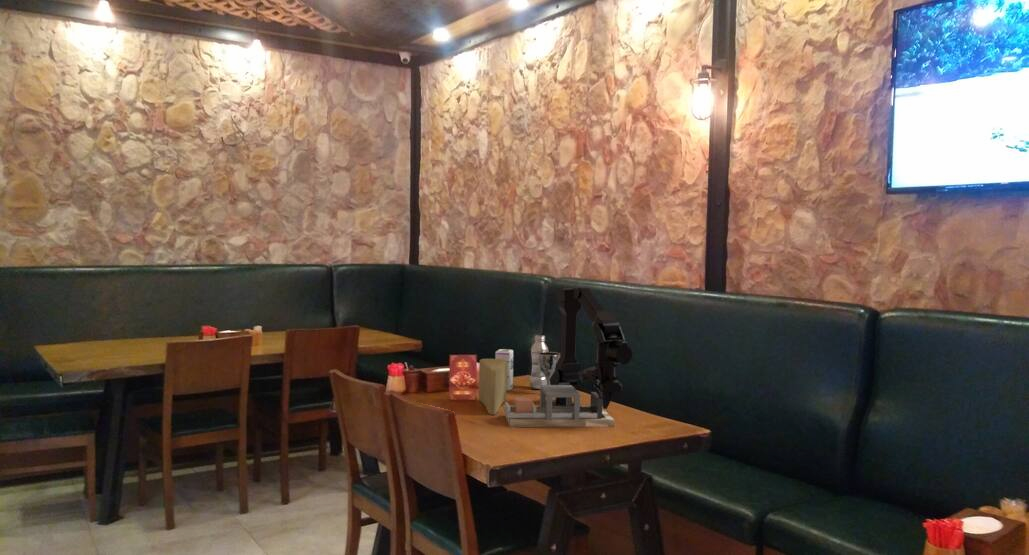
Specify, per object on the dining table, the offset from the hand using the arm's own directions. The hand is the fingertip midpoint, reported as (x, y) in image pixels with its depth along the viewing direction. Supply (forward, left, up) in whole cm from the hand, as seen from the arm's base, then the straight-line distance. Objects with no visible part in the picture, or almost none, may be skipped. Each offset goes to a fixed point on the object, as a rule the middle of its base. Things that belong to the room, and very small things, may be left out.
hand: (604, 408), depth 249 cm
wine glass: (-40, -12, -4) cm, 42 cm away
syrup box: (-50, -27, -4) cm, 57 cm away
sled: (0, -17, -2) cm, 17 cm away
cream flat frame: (0, -15, -4) cm, 15 cm away
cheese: (-19, -34, -4) cm, 39 cm away
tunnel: (0, -15, -2) cm, 15 cm away
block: (0, -26, -2) cm, 26 cm away
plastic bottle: (-50, -14, -4) cm, 52 cm away
